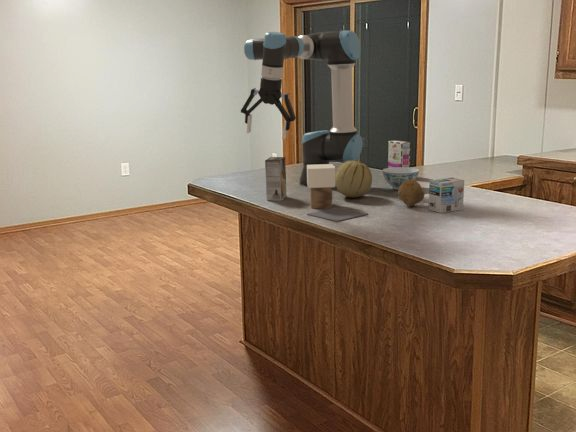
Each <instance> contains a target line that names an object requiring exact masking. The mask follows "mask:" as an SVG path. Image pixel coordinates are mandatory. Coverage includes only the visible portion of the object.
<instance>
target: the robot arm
mask: <svg viewBox="0 0 576 432" xmlns="http://www.w3.org/2000/svg"><path fill="white" fill-rule="evenodd" d="M361 48H362V47H361V42H360V39H359V36H358V35H357V33H355V32H354V31H353V30H344V29H343V30H334V31H333V30H332V31H320V32H314V33H310V34H304V35H299V36H297V35H296V36H295V35H292V36H291V35H290V36H287V35H286V34H285V33H283V32H279V31H267V32H266V33H265V34H264V37H263V38H251V39H247V40H246V41H245V43H244V47H243V49H244V50H243V52H244V55H245V57H246V58H247V59H248V60H253V61H258V60H262V62H261V63H262V64H261V72H260V74H261V75H260V76H261V77H260V86H259V89H257V88H256V87H253V88H252V89H250V95H249V96H248V98H247V99H246V101H245V103H244V105H243V106H242V107H241V109H240V113H241V114H244V122H245V124H247V125H246V134H250V133H251V131H252V122H253V121H252V120H253V119H252V118H253V114H251V113H252V112H253V111H255V109H256V108H257V107H259V106H260V104H262V103H264V104H266V105H267V104H269V105H275V107H276V108H277V109H278V111H279V112H280V114H281V115H282V117H283V118H284V121H283V128H282V135H281V136H282V138H281V139H282V140H286V138H287V131H289V130H290V129H291V128H290V127H291V122H294V121H295V120H296V119H297V116H296V114H295V112H294V109H293V106H292V103H291V101H290V93H288V92H286V93H282V83H283V80H282V78H283V73H284V62H285V60H287V59H296V58H298V59H301V60H313V61H324V62H325V61H326V62H327V67H328V68H330V73H331V75H330V76H331V105H332V106H331V107H332V108H331V109H332V110H331V111H332V127H331V128H330V130H327V129H326V130H317V131H312V132H311V131H309V132H305V133H304V134H303V135H302V143H301V145H302V170H301V173H300V177H299V184H300V185H302V186H307V187H308V185H307V165H317V164H330V161H331V162H343V163H345V162H347V161H358V159H359V157H360V156H361V153H362V150H363V139H362V136H361V135H360V134H358V129H357V128H356V127H355V126H354V112H353V111H354V107H353V106H354V104H353V101H354V100H353V67H354V66H356V61H357V60H358V59H359V58H360V56H361V53H362V51H361ZM257 94H258V96H259V97H260V98H259V99H258V100H257V101H256V102H255V103H253V105H252V106H251V107H249V106H250V104H251V102H252V101H253V99H254V98H255V96H257ZM281 98H282V100H283V101H284V104H285V106H286V109H285V107H284V106H283V104H282V101H281V100H280V99H281ZM248 108H249V109H248Z"/></svg>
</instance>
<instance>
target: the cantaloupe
mask: <svg viewBox="0 0 576 432" xmlns="http://www.w3.org/2000/svg"><path fill="white" fill-rule="evenodd" d="M372 183H373V174H372V171H371V169H370V168H369V166H368V165H366V164H365V163H362V162H361V159H360V158H357V160H355V161H347V162H343V163H342V164H340V166H338V167H337V169H336V170H335V188H336V189H337V191H338V192H339V193H340V194H341V195H342V196H345V197H347V198H351V199H353V198H360V197H362V196H364V195H366V194H367V193H369V191H370V188H371V186H372Z"/></svg>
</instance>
